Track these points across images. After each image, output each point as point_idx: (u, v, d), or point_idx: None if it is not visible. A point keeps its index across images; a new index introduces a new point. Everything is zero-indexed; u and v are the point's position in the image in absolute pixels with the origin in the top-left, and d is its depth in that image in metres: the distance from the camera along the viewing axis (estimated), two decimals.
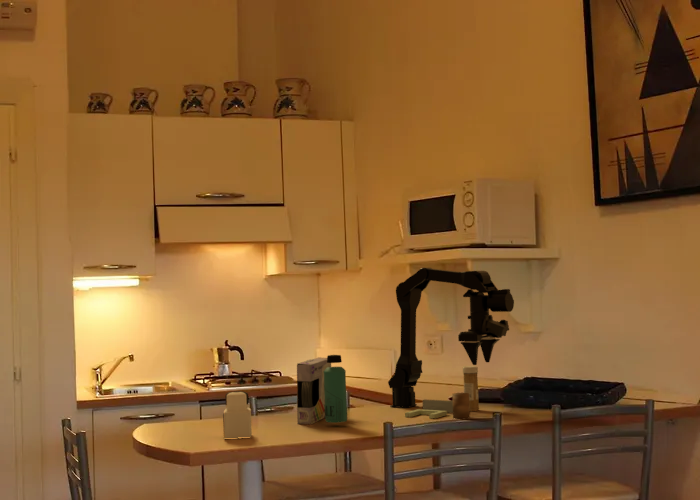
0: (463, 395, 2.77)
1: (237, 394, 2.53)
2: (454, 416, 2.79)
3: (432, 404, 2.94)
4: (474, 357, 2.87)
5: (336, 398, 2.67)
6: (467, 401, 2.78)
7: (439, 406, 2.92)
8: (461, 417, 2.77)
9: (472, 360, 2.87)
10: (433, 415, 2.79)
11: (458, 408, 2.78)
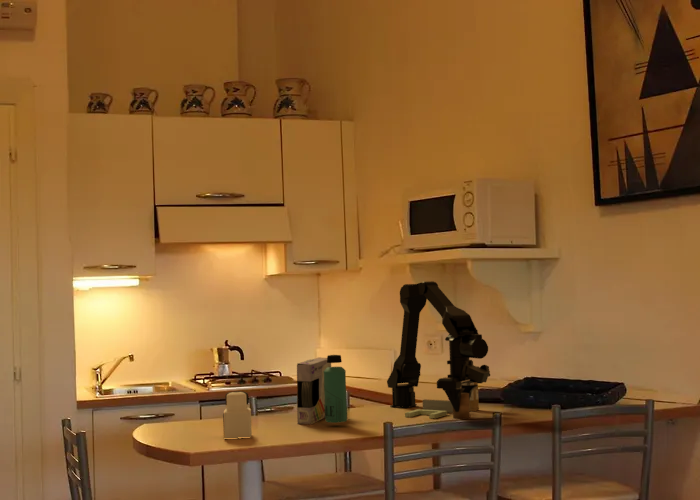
0: (463, 395, 2.77)
1: (237, 394, 2.53)
2: (454, 416, 2.79)
3: (432, 404, 2.94)
4: (456, 404, 2.77)
5: (336, 398, 2.67)
6: (467, 401, 2.78)
7: (439, 406, 2.92)
8: (461, 417, 2.77)
9: (454, 407, 2.77)
10: (433, 415, 2.79)
11: None
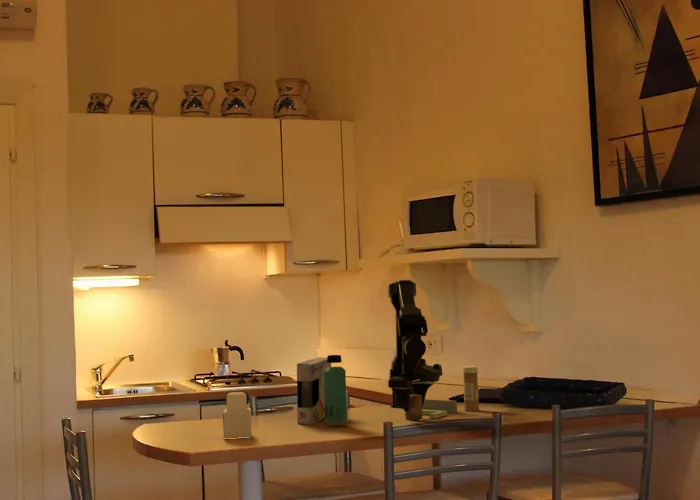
0: (415, 397, 2.76)
1: (237, 394, 2.53)
2: (407, 418, 2.77)
3: (432, 404, 2.94)
4: (406, 404, 2.74)
5: (336, 398, 2.67)
6: (420, 403, 2.77)
7: (439, 406, 2.92)
8: (413, 419, 2.76)
9: (404, 407, 2.75)
10: (433, 415, 2.79)
11: (410, 409, 2.76)
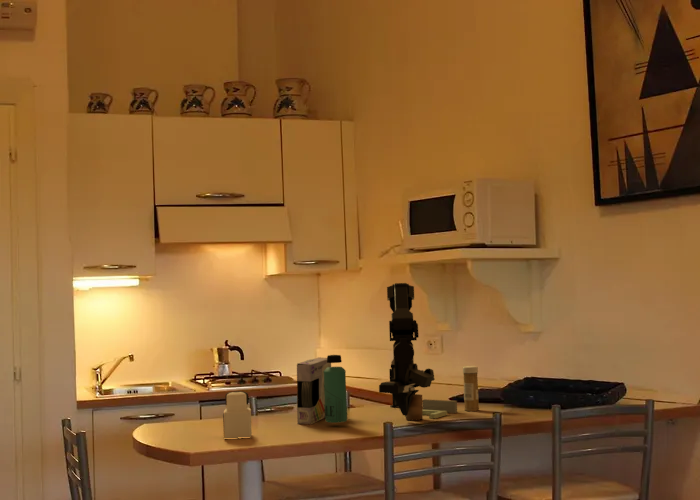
0: (416, 396, 2.77)
1: (237, 394, 2.53)
2: (407, 417, 2.77)
3: (432, 404, 2.94)
4: (404, 408, 2.73)
5: (336, 398, 2.67)
6: (420, 402, 2.77)
7: (439, 406, 2.92)
8: (413, 418, 2.76)
9: (402, 410, 2.74)
10: (433, 415, 2.79)
11: (410, 409, 2.77)
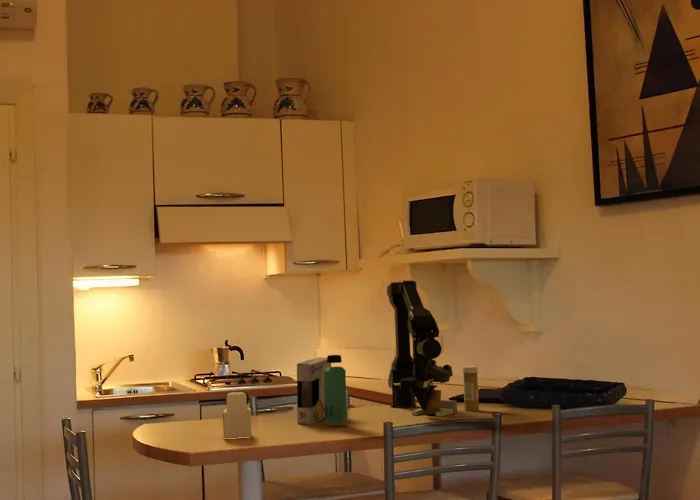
0: (435, 390, 2.86)
1: (237, 394, 2.53)
2: (425, 410, 2.86)
3: None
4: (423, 403, 2.82)
5: (336, 398, 2.67)
6: (439, 397, 2.86)
7: None
8: (431, 412, 2.85)
9: (421, 405, 2.83)
10: (440, 413, 2.82)
11: (429, 402, 2.85)
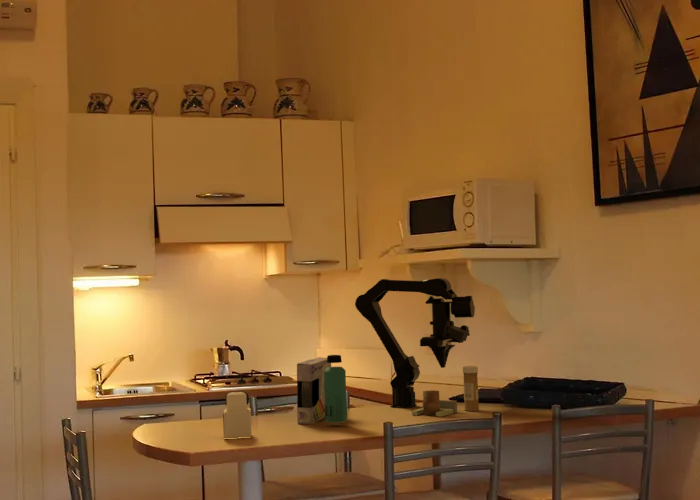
0: (433, 393, 2.85)
1: (237, 394, 2.53)
2: (425, 413, 2.86)
3: None
4: (442, 360, 3.02)
5: (336, 398, 2.67)
6: (437, 399, 2.86)
7: None
8: (431, 414, 2.85)
9: (440, 363, 3.03)
10: (440, 413, 2.82)
11: (428, 405, 2.85)
